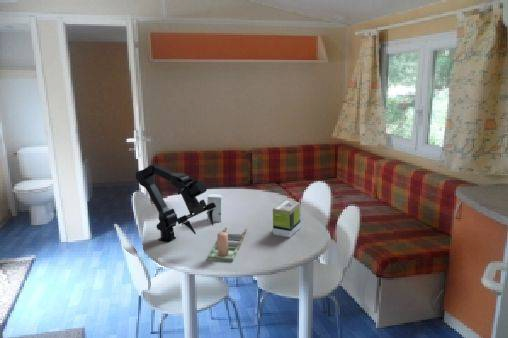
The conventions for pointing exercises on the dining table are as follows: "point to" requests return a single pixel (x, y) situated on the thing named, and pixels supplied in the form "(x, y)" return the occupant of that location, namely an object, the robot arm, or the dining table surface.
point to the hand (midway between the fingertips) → (204, 229)
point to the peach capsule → (222, 244)
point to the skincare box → (219, 206)
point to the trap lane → (232, 247)
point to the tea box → (286, 218)
